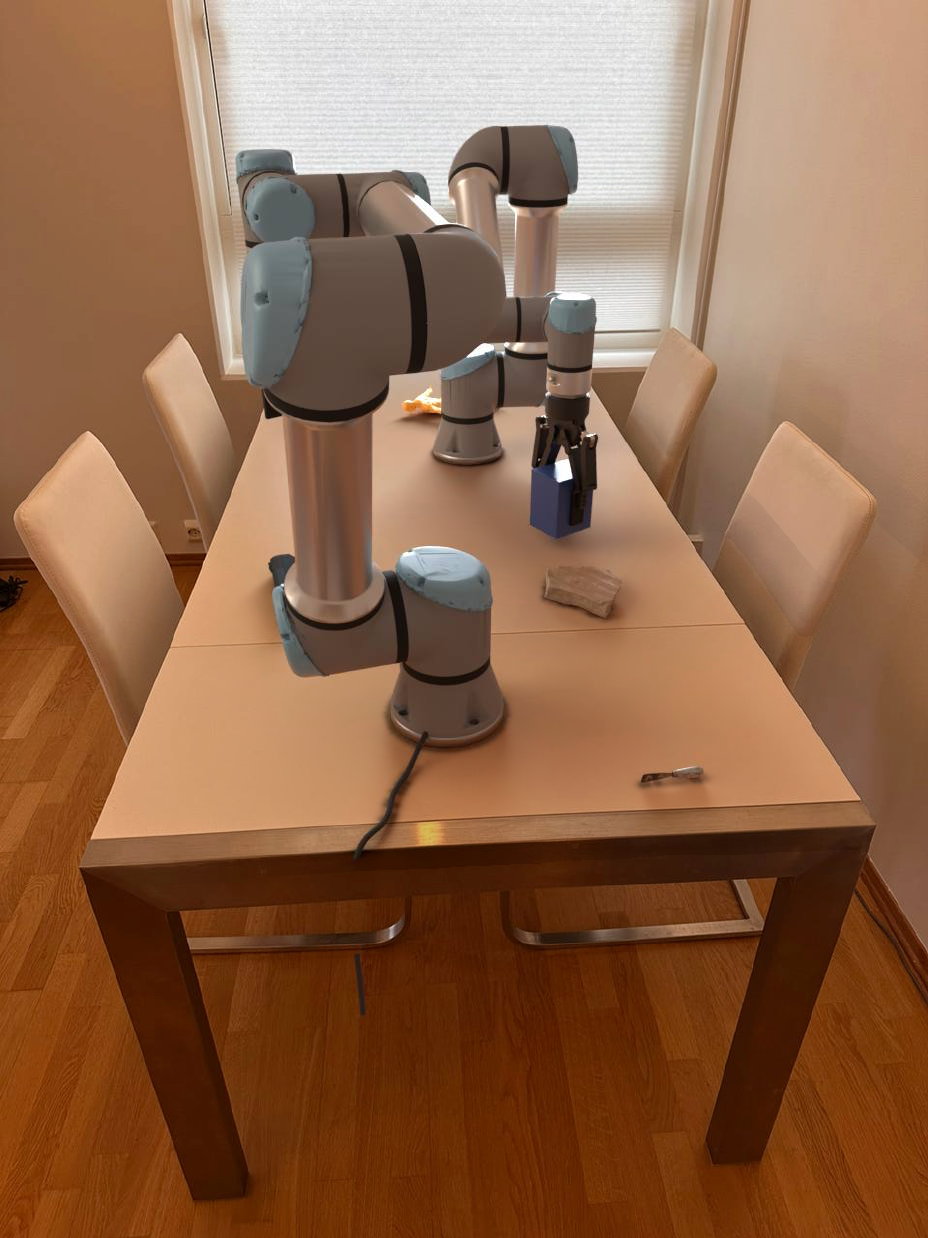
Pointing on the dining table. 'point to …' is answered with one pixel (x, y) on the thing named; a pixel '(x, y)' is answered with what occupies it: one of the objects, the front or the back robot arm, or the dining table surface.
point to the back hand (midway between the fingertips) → (561, 515)
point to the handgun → (280, 567)
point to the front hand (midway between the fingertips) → (294, 429)
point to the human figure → (423, 403)
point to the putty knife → (674, 774)
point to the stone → (583, 588)
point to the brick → (555, 500)
